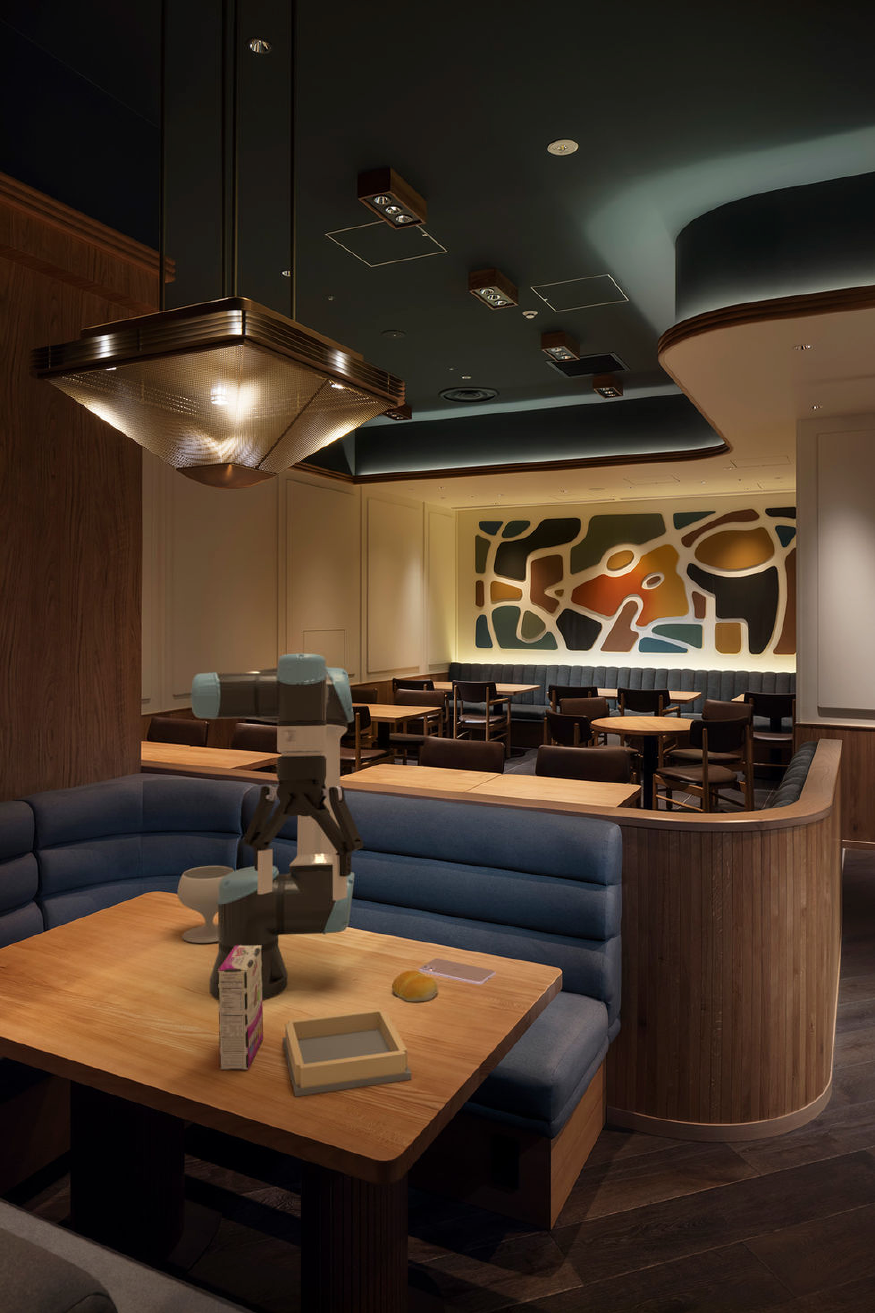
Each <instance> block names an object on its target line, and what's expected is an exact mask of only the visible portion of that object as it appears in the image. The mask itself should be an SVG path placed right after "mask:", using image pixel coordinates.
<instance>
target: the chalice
mask: <svg viewBox="0 0 875 1313" xmlns="http://www.w3.org/2000/svg"><path fill="white" fill-rule="evenodd" d="M234 871H235V870H234V868H232V867H229V866H225V865H224V866H223V865H207V866H198V867H194V868H191V869H188V870H185V871H184V872H182V875H181V876H180V879H179V882H178V886H177V898H178V901H179V902H180V903H181V904H182V905H183V906H185V907H186V908H188V909H190V910H192V911H195V912H196V913H199V914H200V915H201V916H202V917H203V918H204V925H200V926H197V927H194V928H190V929H189V930H187V931H185V932H184V933H183V934H182V935H181V938H182V939H183V940H184V941H186V942H189V943H194V944H195V943H197V944H208V943H217V942H219V940H218V924H214V917H215V916H216V914H218V903H217V900H218V891H219V883H220V881H221V879H222V878H223V877H224V876H226V875H227V874H229V873H231V872H234Z"/></svg>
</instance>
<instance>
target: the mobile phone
mask: <svg viewBox="0 0 875 1313" xmlns="http://www.w3.org/2000/svg"><path fill="white" fill-rule="evenodd" d="M418 970H419V971H418V972H420V973H423V974H429V975H433V976H437V977H442V978H446V979H451V980H455V981H460V982H463V983H469V984H473V985H478V986H479V985H483V984H484V983H486V982H487V981H488V980H490V979H491V978H493V977H494V976H495V975H496V971H495V970H493V969H488V968H484V967H481V966H480V967H479V966H474V965H470V964H466V963H461V962H456V961H451V960H448V959H442V958H434V959H432V960H430V961H428V962H427V963H425V964H424V965H422V966H420V967H419V968H418Z"/></svg>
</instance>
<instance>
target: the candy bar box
mask: <svg viewBox="0 0 875 1313" xmlns="http://www.w3.org/2000/svg"><path fill="white" fill-rule="evenodd" d="M261 947H262V946H261V945H245V946H243V945H237V946H234V948H233V949H232V951H231V952H230V954H229V955H228V957H227V958H226V960H225V961H224V962H223V964H222V965H221V967H220V968H219V970H218V999H217V1000H218V1029H219V1033H218V1034H219V1036H218V1038H219V1070H221V1071H244V1070H245V1071H247V1070H249V1069H250V1067H251V1065H252V1063H253V1061H254V1058H255V1056H256V1054H257V1052H258V1049H259V1048H260V1046H261V1044H262V1041H263V1040H264V1024H263V1023H264V1022H263V1020H264V1018H263V1017H264V1016H263V1014H264V1012H263V1011H264V1010H263V1008H264V1007H263V1000H262V957H261Z"/></svg>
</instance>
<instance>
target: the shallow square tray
mask: <svg viewBox="0 0 875 1313" xmlns="http://www.w3.org/2000/svg"><path fill="white" fill-rule="evenodd" d="M284 1025H285V1026H284V1027H285V1028H284V1029H285V1031H284V1032H285V1034H284V1035H285V1037H282V1046H283V1049H284V1053H285V1054H284V1055H285V1058H286V1063H287V1066H288V1071H289V1075H290V1079H291V1080H290V1081H291V1084H292V1089H293V1093H294V1096H295V1097H301V1096H302V1097H303V1096H309V1095H317V1094H321V1093H322V1094H324V1093H329V1092H338V1091H341V1090H349V1089H356V1088H363V1087H369V1086H376V1085H383V1084H388V1083H394V1082H402V1081H408V1080H412V1072H411V1069H410V1067H409V1066H408V1048H407V1047H406V1045H405V1044H404V1041H403V1040H402V1038H401V1036H400V1034H399V1033H398V1030H397V1029H396V1027H395V1025H394V1023H393V1021H392V1019H391V1017H390V1015H389V1014H388V1011H387V1010H383V1009H382V1008H373V1009H367V1010H366V1009H365V1010H359V1011H358V1010H357V1011H352V1012H351V1011H350V1012H340V1013H334V1014H328V1015H327V1014H326V1015H318V1016H308V1017H301V1018H294V1019H288V1020H287V1023H286V1022H285V1024H284Z"/></svg>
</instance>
